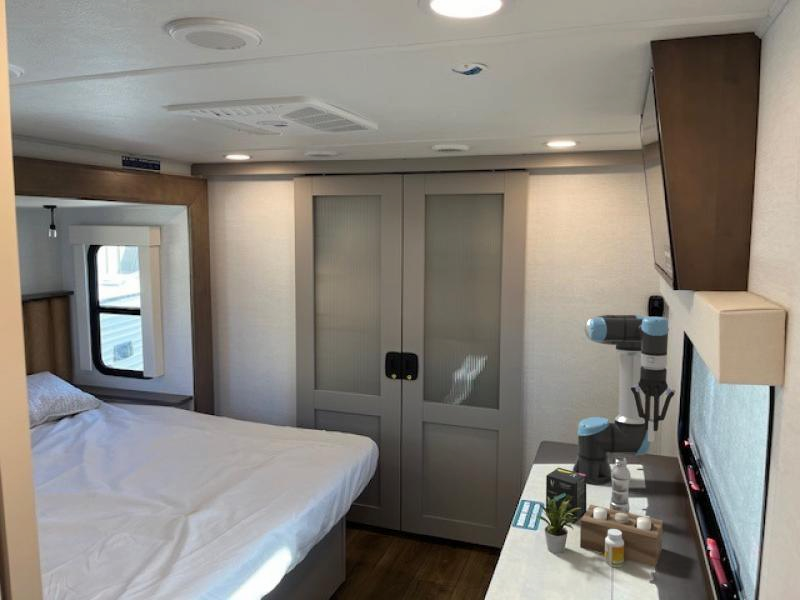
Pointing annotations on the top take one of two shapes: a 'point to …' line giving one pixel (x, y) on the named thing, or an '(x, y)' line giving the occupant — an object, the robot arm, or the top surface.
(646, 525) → the knob
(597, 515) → the knob
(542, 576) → the top surface
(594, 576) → the top surface
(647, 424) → the robot arm
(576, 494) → the tampon box
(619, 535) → the supplement bottle
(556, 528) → the house plant
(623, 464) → the plastic bottle
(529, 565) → the top surface
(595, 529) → the wooden holder rack
